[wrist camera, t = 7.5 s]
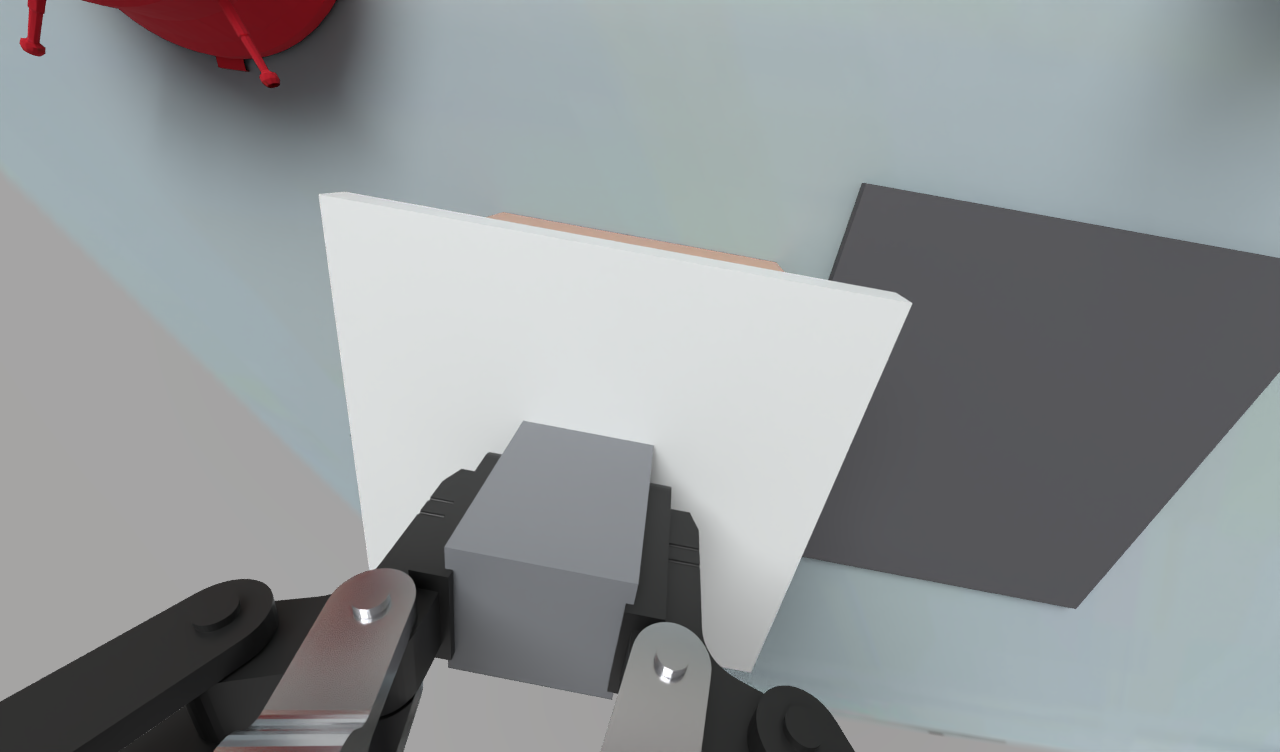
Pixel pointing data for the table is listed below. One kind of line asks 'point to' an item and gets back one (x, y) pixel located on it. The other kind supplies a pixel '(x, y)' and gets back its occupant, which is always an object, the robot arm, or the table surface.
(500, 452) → the lid
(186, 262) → the table surface
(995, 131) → the table surface
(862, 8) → the table surface
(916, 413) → the mat
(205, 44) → the alarm clock
